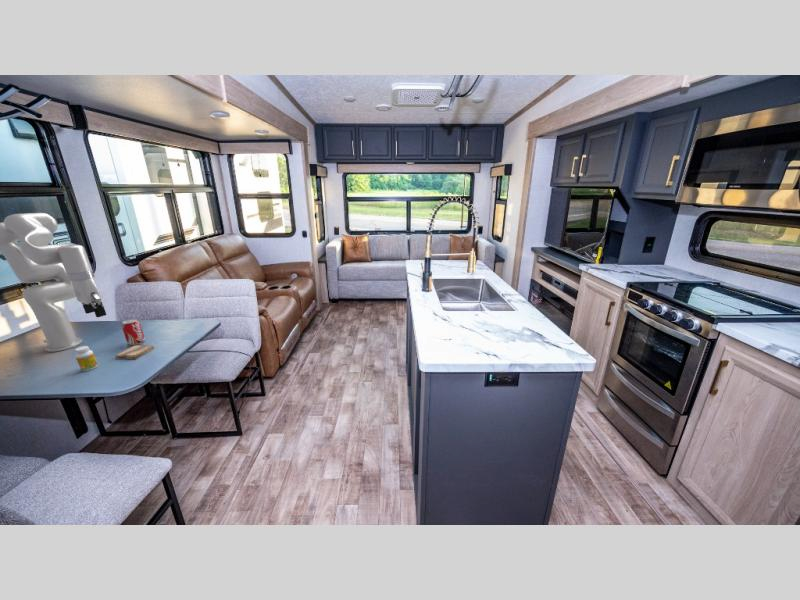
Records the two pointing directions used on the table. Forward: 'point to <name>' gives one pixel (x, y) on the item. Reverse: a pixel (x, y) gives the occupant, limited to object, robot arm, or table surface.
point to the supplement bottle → (85, 358)
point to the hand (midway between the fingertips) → (96, 314)
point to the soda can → (133, 331)
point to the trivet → (134, 352)
